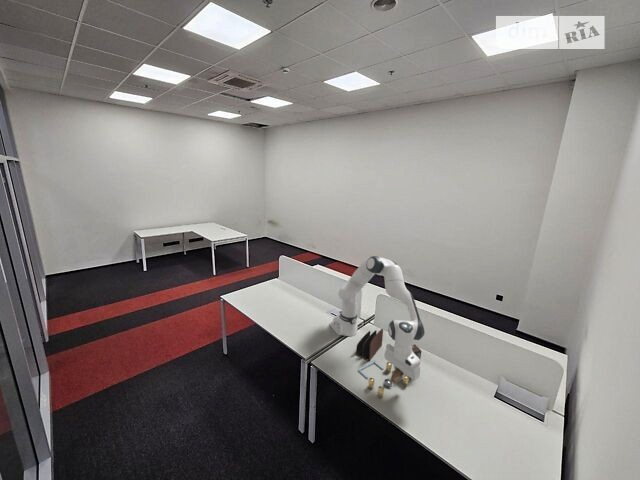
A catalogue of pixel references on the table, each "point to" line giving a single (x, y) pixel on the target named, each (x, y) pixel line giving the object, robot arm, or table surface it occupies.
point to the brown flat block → (396, 376)
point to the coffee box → (416, 351)
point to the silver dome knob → (388, 383)
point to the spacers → (380, 388)
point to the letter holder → (369, 345)
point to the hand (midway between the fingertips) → (399, 375)
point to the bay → (367, 366)
